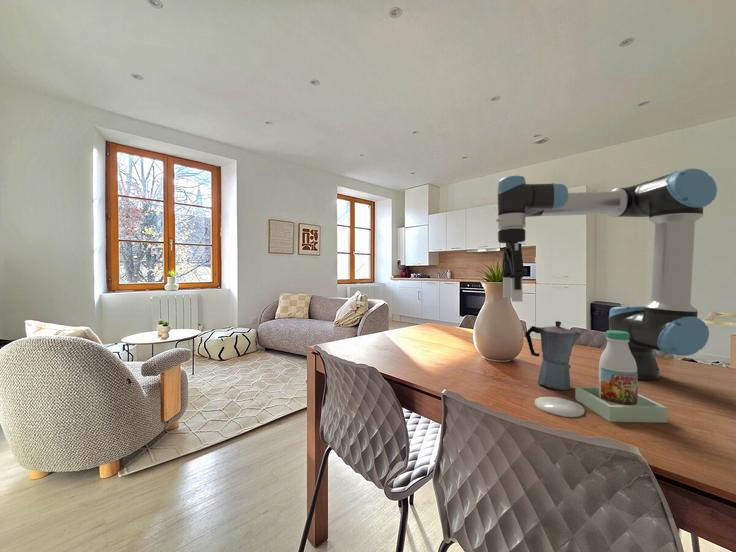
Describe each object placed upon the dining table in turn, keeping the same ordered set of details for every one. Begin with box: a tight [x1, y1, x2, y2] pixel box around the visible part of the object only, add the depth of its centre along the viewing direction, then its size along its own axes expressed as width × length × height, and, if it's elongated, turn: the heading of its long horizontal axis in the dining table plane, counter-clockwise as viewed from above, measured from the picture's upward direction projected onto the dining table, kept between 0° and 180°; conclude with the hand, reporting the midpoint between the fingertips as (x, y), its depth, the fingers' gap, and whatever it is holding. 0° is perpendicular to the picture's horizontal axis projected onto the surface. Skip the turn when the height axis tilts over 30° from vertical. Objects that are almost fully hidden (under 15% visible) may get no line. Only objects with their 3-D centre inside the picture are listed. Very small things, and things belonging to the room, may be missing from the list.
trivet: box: [534, 396, 585, 418], centre depth 81 cm, size 11×11×1 cm
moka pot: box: [524, 320, 582, 391], centre depth 97 cm, size 10×15×20 cm, turn 78°
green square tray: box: [574, 386, 668, 423], centre depth 80 cm, size 13×13×4 cm
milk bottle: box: [598, 329, 639, 405], centre depth 80 cm, size 8×8×20 cm
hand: (512, 299), depth 95 cm, fingers open, 13 cm apart
